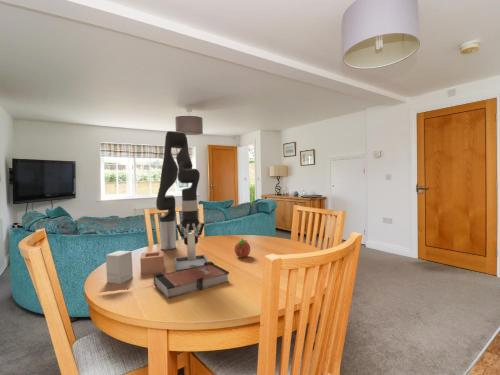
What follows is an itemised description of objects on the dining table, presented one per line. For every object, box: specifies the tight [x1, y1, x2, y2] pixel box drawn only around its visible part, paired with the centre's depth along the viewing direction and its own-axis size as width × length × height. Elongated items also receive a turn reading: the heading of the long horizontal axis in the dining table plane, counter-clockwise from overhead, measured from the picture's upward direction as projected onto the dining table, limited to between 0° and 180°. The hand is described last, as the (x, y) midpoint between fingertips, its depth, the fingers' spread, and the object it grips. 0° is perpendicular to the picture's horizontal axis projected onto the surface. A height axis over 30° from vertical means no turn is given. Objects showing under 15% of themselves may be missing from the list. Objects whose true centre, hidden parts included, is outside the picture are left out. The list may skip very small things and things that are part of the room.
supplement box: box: [105, 250, 134, 285], centre depth 116 cm, size 7×7×13 cm
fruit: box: [234, 238, 251, 259], centre depth 149 cm, size 9×10×10 cm
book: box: [152, 261, 230, 300], centre depth 113 cm, size 26×18×5 cm
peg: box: [186, 232, 197, 261], centre depth 134 cm, size 4×4×13 cm
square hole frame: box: [139, 250, 165, 275], centre depth 129 cm, size 10×10×8 cm
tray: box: [173, 254, 210, 271], centre depth 135 cm, size 20×16×2 cm
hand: (191, 244), depth 134 cm, fingers closed on peg, 4 cm apart
